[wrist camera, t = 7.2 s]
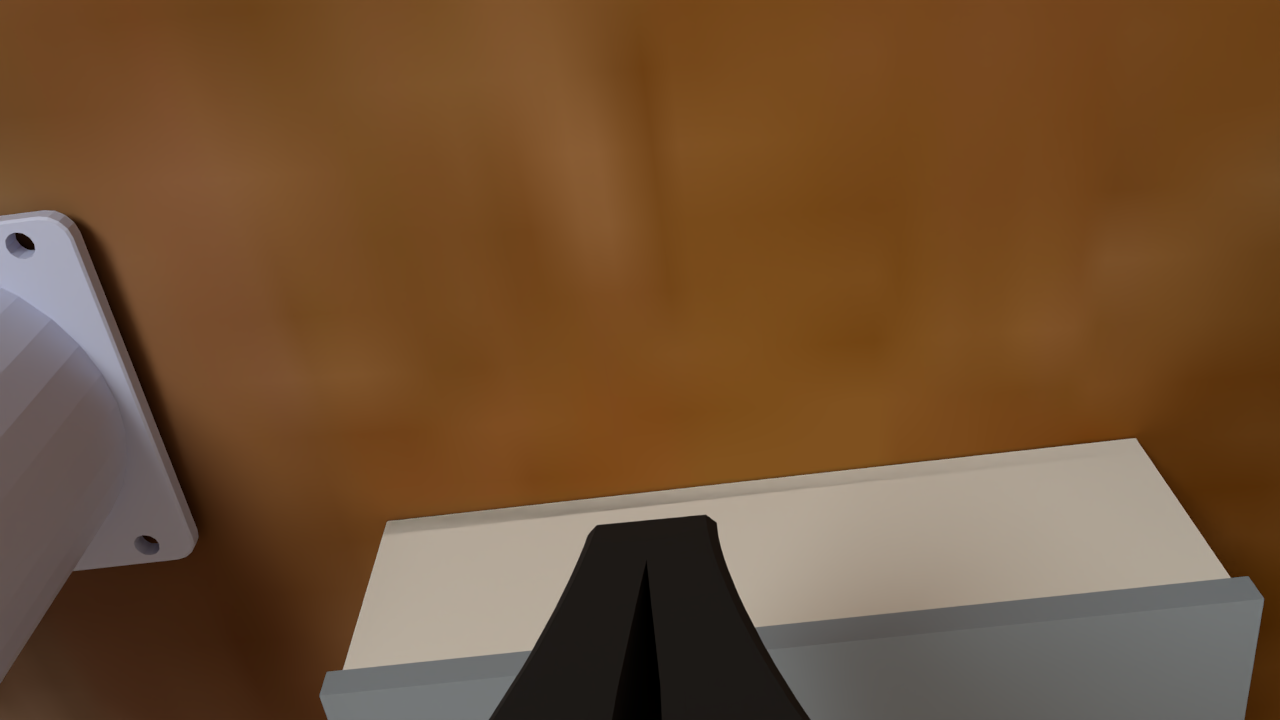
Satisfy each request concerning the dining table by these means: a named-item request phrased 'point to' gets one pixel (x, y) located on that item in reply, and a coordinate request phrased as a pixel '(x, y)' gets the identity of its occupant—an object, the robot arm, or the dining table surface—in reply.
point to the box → (802, 547)
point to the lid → (936, 662)
